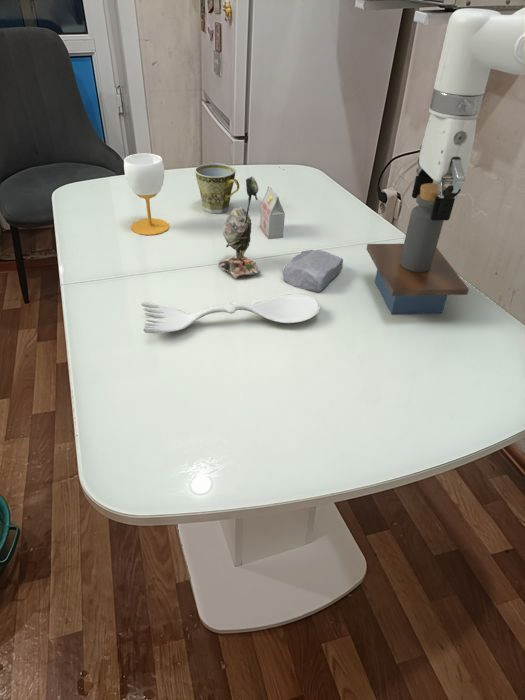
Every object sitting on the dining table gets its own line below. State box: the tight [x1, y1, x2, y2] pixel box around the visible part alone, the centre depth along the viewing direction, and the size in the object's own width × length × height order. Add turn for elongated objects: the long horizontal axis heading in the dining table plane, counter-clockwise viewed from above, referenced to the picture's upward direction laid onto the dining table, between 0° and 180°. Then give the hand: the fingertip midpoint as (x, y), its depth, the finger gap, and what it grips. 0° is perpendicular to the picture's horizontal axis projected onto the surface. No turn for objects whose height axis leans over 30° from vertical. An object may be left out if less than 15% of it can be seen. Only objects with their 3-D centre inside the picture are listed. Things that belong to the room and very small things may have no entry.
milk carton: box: [259, 186, 286, 240], centre depth 120 cm, size 4×7×10 cm, turn 17°
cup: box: [123, 152, 170, 236], centre depth 118 cm, size 9×9×16 cm
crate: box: [374, 268, 448, 315], centre depth 100 cm, size 10×12×6 cm
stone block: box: [282, 249, 344, 293], centre depth 106 cm, size 12×5×10 cm
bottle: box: [400, 182, 447, 272], centre depth 93 cm, size 6×6×15 cm
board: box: [366, 243, 470, 296], centre depth 98 cm, size 14×18×1 cm
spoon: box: [140, 293, 321, 334], centre depth 92 cm, size 9×32×4 cm, turn 103°
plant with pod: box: [218, 175, 261, 279], centre depth 103 cm, size 8×11×20 cm
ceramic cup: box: [194, 163, 240, 214], centre depth 129 cm, size 13×10×10 cm
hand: (429, 208), depth 90 cm, fingers open, 9 cm apart
